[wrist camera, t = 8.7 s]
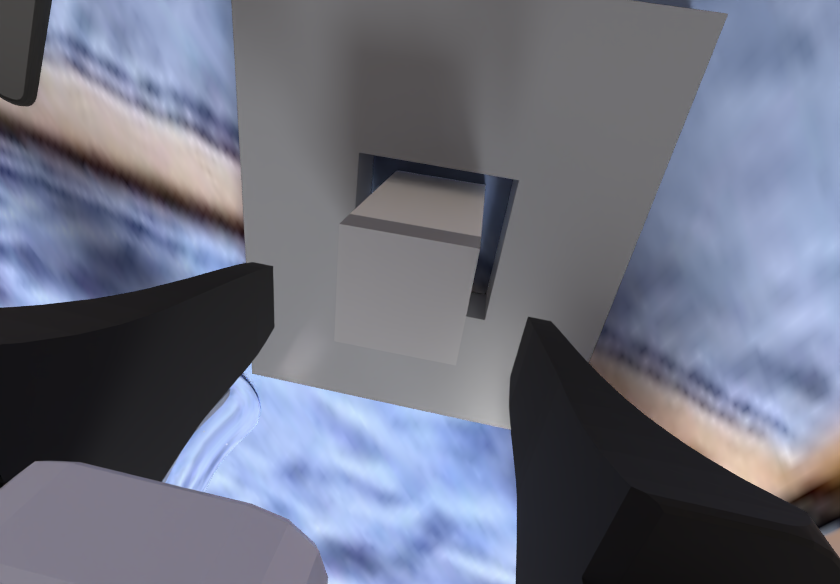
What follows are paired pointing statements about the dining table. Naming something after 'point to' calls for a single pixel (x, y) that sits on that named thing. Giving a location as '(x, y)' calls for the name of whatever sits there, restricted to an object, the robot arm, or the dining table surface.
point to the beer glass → (216, 437)
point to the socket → (457, 163)
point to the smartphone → (22, 48)
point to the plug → (409, 266)
